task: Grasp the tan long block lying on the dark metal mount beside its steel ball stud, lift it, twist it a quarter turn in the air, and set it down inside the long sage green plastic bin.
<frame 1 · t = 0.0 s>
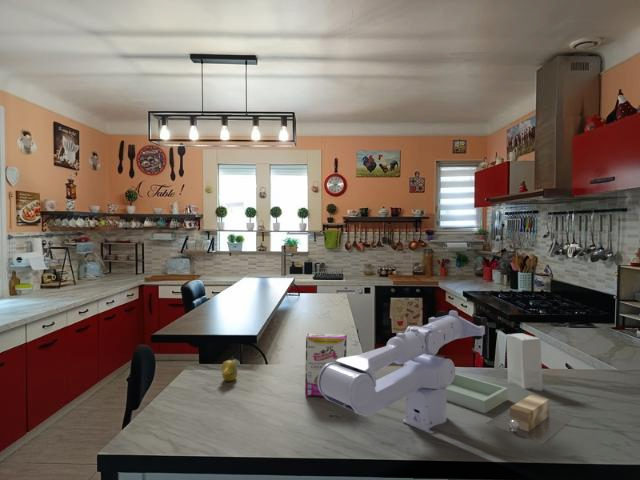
hand: (471, 318, 106), 22 cm above the kitchen island counter, tool horizontal, fingers open, 7 cm apart
skincare box: (523, 387, 116), on the kitchen island counter
tan long block: (529, 420, 92), point 1 cm above the kitchen island counter, touching mount
bin: (462, 398, 107), on the kitchen island counter
mount: (529, 425, 92), on the kitchen island counter
candy bar box: (326, 395, 109), on the kitchen island counter
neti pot: (229, 381, 120), on the kitchen island counter
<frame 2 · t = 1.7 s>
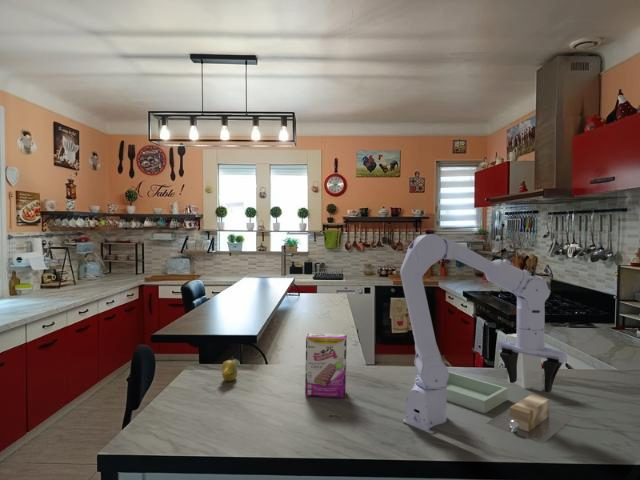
hand: (530, 386, 92), 9 cm above the kitchen island counter, tool pointing down, fingers open, 7 cm apart
nothing on the kitchen island counter moved.
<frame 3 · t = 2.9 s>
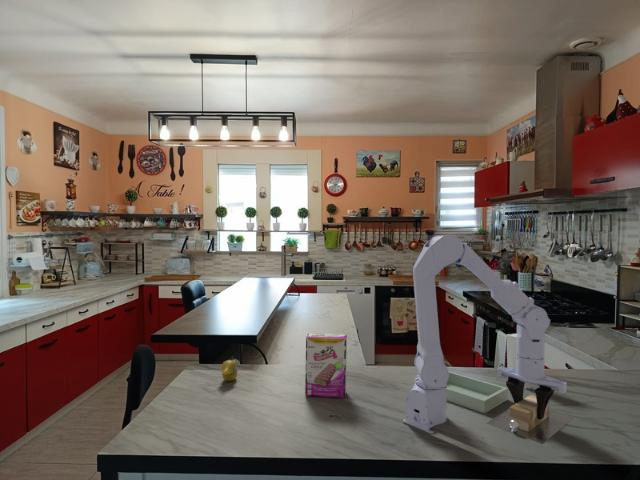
hand: (529, 414, 92), 2 cm above the kitchen island counter, tool pointing down, fingers closed on tan long block, 4 cm apart
tan long block: (529, 420, 92), point 1 cm above the kitchen island counter, touching gripper, mount
everything else where it was.
when the fingers open (5 cm above the kitchen island counter, at t = 7.9 s): tan long block drops 2 cm, resting on bin.
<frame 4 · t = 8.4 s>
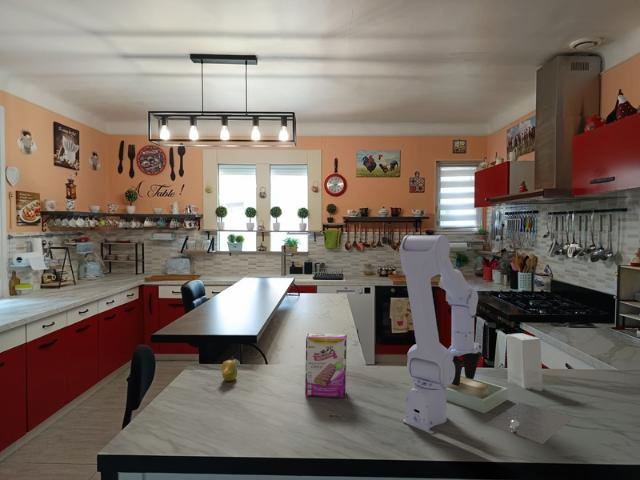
hand: (462, 381, 107), 5 cm above the kitchen island counter, tool pointing down, fingers open, 7 cm apart
tan long block: (462, 395, 107), point 1 cm above the kitchen island counter, touching bin
everything else where it was.
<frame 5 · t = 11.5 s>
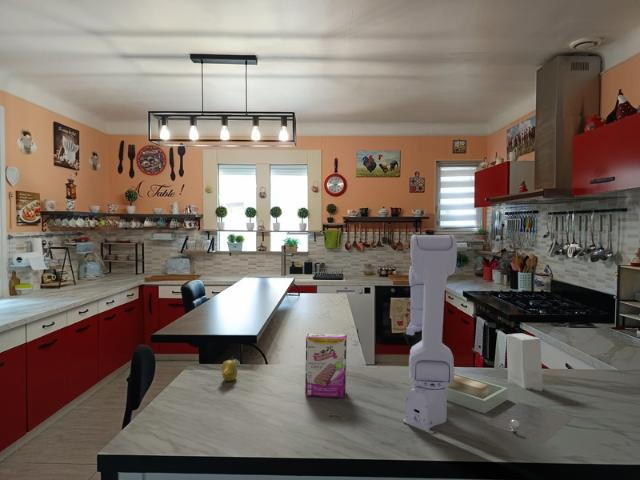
hand: (420, 355, 114), 9 cm above the kitchen island counter, tool pointing down, fingers open, 7 cm apart
nothing on the kitchen island counter moved.
at the end: tan long block inside the target area on the bin (0.2 cm from its centre), point 1.0 cm above the bin's base; the gripper is holding nothing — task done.
